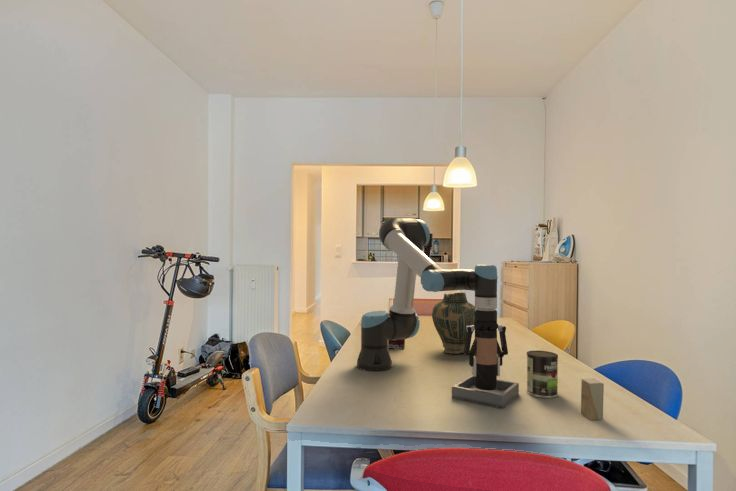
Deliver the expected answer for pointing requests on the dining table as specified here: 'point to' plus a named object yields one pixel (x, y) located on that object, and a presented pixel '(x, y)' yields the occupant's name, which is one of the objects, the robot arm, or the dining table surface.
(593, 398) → the box
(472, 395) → the bin
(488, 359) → the travel mug
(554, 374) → the coffee can
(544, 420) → the dining table surface
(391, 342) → the supplement box
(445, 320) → the vase
